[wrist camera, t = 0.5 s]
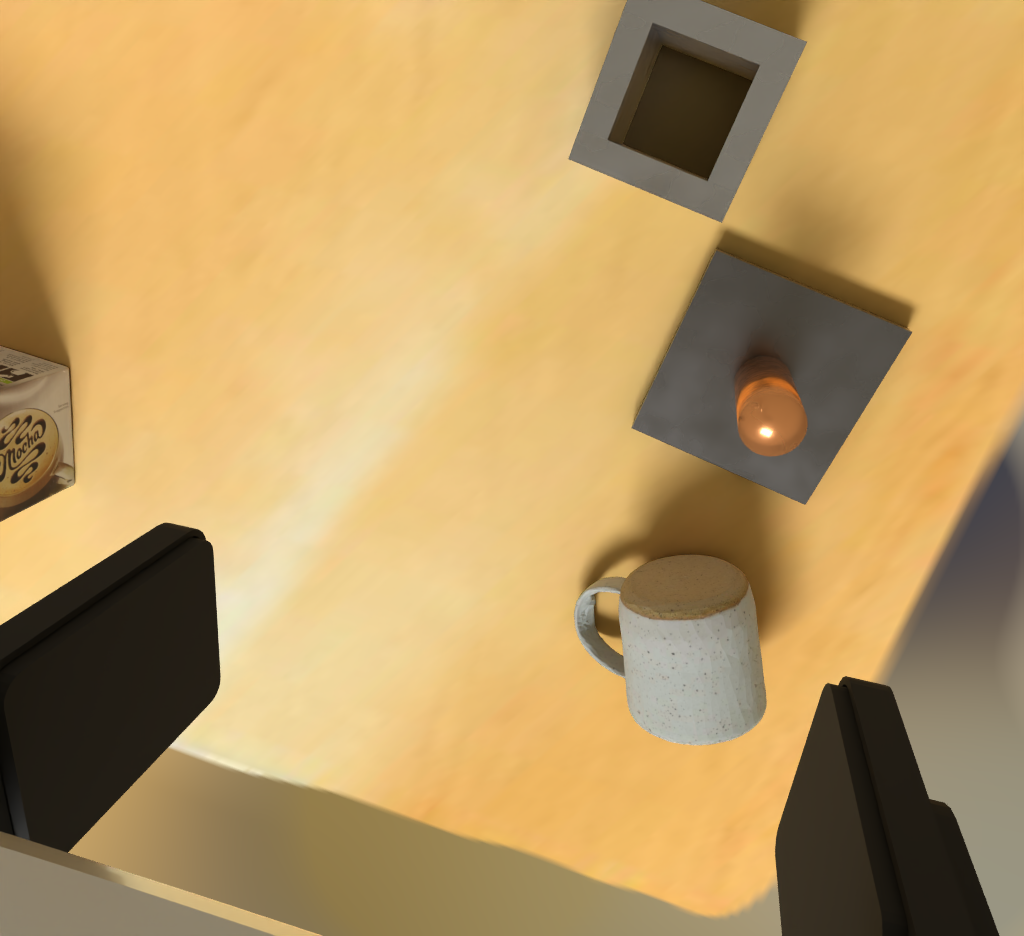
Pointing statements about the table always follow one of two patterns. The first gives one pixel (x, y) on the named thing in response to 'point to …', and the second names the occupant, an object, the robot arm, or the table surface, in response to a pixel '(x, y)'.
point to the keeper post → (767, 376)
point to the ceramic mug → (683, 648)
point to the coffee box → (33, 431)
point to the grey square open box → (629, 62)
